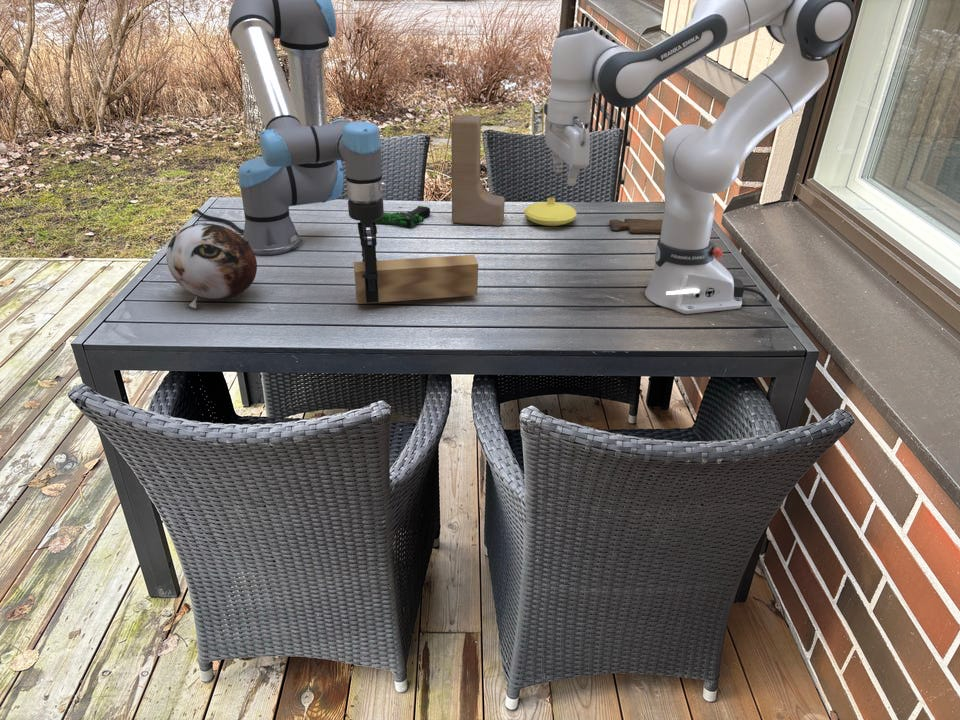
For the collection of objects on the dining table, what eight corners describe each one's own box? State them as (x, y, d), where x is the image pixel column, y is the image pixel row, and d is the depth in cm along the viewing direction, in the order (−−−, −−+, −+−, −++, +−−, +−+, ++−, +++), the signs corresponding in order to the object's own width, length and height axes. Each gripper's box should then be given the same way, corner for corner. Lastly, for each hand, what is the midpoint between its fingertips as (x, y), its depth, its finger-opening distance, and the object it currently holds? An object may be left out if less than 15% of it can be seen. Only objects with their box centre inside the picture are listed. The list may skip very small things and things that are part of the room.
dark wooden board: (700, 236, 208) (693, 224, 217) (701, 230, 207) (694, 219, 216) (612, 233, 208) (607, 221, 217) (613, 227, 207) (608, 216, 216)
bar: (357, 303, 163) (354, 271, 158) (355, 293, 167) (353, 262, 163) (477, 295, 168) (478, 263, 164) (473, 285, 172) (473, 254, 168)
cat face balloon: (130, 285, 161) (164, 203, 163) (192, 308, 177) (221, 233, 178) (195, 307, 151) (229, 220, 152) (254, 330, 166) (285, 250, 168)
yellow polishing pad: (541, 209, 225) (542, 187, 222) (585, 220, 218) (587, 197, 214) (513, 223, 214) (514, 200, 211) (559, 234, 206) (560, 211, 203)
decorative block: (501, 226, 212) (504, 122, 196) (451, 223, 213) (450, 120, 198) (504, 218, 218) (507, 116, 203) (455, 215, 220) (455, 114, 204)
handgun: (435, 206, 218) (413, 220, 206) (436, 216, 220) (413, 230, 208) (389, 200, 224) (364, 213, 212) (389, 209, 225) (365, 223, 213)
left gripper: (387, 212, 146) (391, 313, 158) (379, 184, 161) (384, 277, 173) (349, 214, 145) (357, 315, 157) (345, 185, 160) (352, 279, 172)
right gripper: (600, 123, 141) (593, 191, 148) (568, 102, 158) (564, 164, 165) (570, 124, 140) (564, 193, 147) (541, 103, 157) (537, 166, 164)
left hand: (371, 295), depth 165 cm, fingers closed on bar, 5 cm apart
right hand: (564, 178), depth 156 cm, fingers open, 8 cm apart
